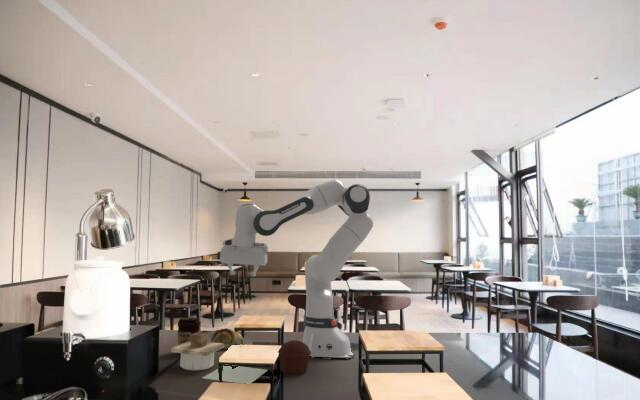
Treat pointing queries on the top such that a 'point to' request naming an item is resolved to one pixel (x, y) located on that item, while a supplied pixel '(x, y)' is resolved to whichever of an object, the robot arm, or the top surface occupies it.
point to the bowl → (196, 361)
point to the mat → (237, 374)
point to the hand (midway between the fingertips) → (242, 275)
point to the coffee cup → (187, 329)
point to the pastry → (227, 338)
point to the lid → (198, 346)
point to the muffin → (294, 357)
